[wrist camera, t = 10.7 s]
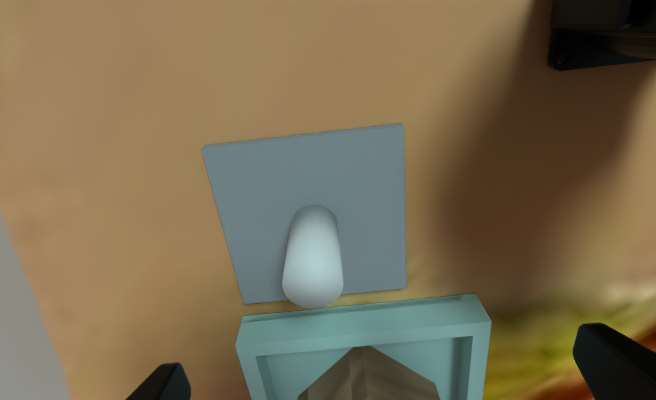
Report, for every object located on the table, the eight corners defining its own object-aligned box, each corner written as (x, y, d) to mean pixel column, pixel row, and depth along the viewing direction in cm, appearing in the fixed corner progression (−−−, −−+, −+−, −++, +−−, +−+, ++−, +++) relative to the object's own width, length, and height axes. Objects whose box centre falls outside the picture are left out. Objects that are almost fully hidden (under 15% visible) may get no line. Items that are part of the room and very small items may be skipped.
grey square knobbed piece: (401, 122, 18) (433, 161, 13) (404, 281, 22) (429, 356, 17) (204, 145, 18) (160, 191, 13) (245, 297, 23) (224, 375, 18)
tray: (475, 293, 23) (491, 321, 21) (462, 436, 29) (473, 468, 27) (242, 316, 23) (235, 345, 21) (281, 451, 30) (278, 485, 28)
